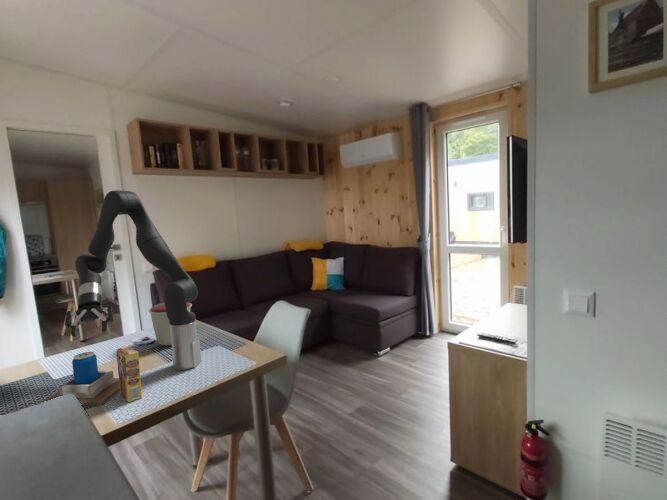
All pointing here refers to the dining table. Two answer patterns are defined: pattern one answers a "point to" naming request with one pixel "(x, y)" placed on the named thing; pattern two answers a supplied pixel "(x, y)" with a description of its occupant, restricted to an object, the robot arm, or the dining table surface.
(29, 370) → the dining table surface
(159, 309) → the canister
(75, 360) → the beverage can
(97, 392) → the guard socket
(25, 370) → the dining table surface
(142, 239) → the robot arm
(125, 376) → the candy box
